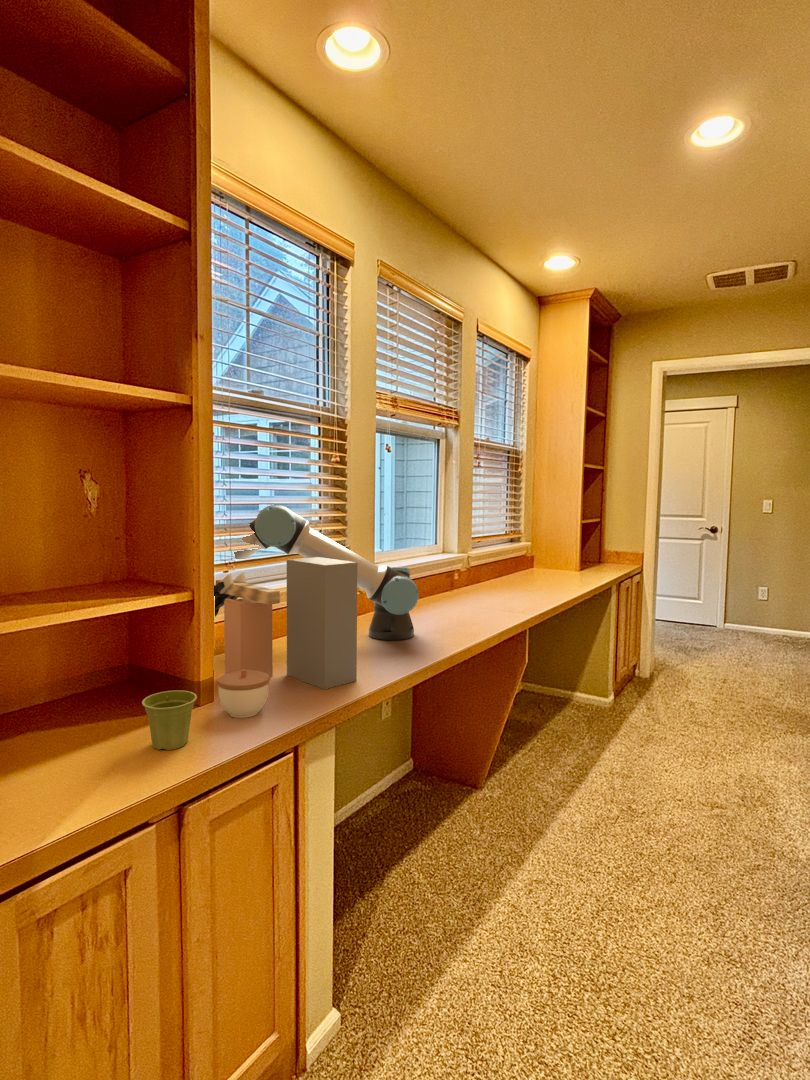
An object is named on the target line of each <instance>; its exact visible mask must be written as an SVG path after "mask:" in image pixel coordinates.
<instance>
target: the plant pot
mask: <svg viewBox="0 0 810 1080" xmlns="http://www.w3.org/2000/svg"><path fill="white" fill-rule="evenodd" d="M197 699H198V696H197V694H196V693H194V692H192V691H189V690H177V689H176V690H165V691H160V692H157V693H153V694H150V695H148V696H146V697H145V698H144V699H142V701H141V705H142V706H143V707H144V709H145V713H146V714H147V721H148V726H149V731H150V738H151V743H152V747H153V748H154V749H155V750H162V749H163V750H166V751H173V750H176V749H180V748H182V747H184V746H185V745H186V743H188V742H189V741H188V740H189V734H190V726H191V719H192V712H193V709H194V706H195V702H196V701H197Z"/></svg>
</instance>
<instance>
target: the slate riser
mask: <svg viewBox="0 0 810 1080" xmlns="http://www.w3.org/2000/svg"><path fill="white" fill-rule="evenodd" d="M357 646H358V587H357V562H351V561H344V560H337V559H329V558H322V557H312V558H305V557H303V558H301V557H300V558H293V559H292V558H291V559H290V558H288V559H286V675H287V676H289V677H291V678H294V679H297V680H299V681H302V682H304V683H307V684H310V685H312V686H314V687H318V688H320V689H322V690H328V688H329V689H331V688H335V686H336V687H339V686H342V684H343V685H346V683H347V684H350V683H353V681H354V682H357V678H358V677H357V674H358V673H357V671H358V669H357V668H358V667H357V666H358V663H357V662H358V661H357V660H358V659H357V658H358V657H357V655H358V653H357V651H358V647H357ZM349 682H350V683H349Z"/></svg>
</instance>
